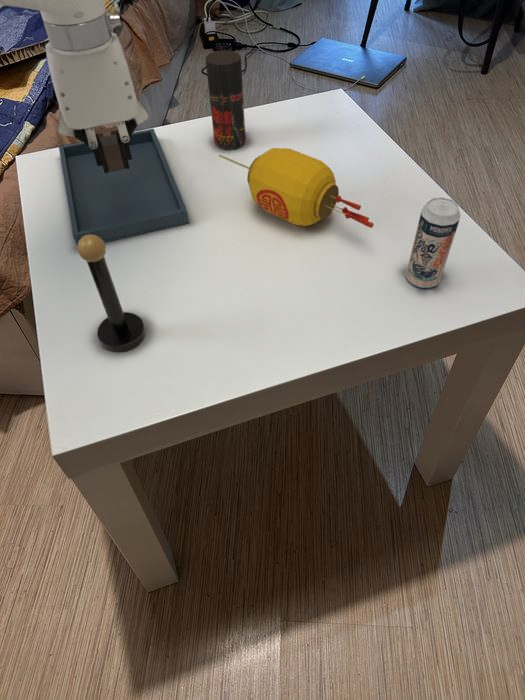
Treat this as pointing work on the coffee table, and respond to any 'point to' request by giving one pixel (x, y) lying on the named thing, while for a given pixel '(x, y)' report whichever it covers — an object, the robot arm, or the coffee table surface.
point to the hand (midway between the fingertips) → (115, 165)
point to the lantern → (296, 187)
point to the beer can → (433, 242)
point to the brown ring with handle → (110, 148)
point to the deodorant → (226, 98)
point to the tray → (121, 191)
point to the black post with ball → (110, 301)
